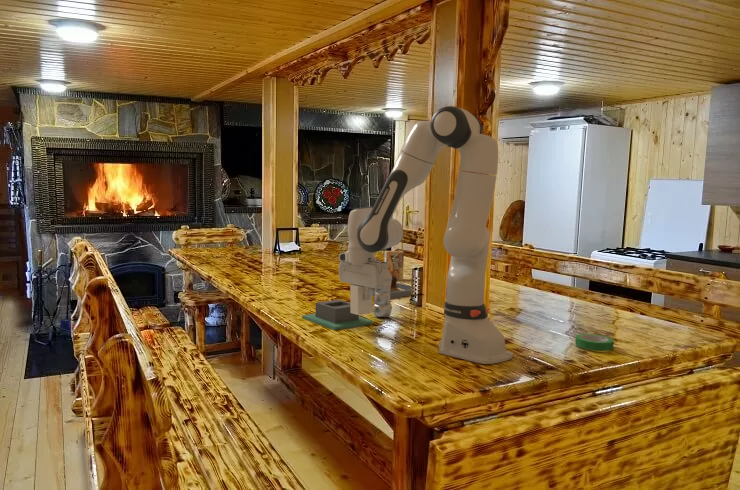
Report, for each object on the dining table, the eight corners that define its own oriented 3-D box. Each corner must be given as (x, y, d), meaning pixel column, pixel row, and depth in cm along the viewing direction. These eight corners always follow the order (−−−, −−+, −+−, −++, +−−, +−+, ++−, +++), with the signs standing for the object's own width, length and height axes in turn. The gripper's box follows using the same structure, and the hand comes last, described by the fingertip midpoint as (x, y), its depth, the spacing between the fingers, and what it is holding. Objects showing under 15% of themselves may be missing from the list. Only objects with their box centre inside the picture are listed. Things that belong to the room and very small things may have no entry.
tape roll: (575, 339, 188) (576, 331, 188) (612, 344, 184) (613, 335, 184) (574, 348, 178) (575, 340, 177) (613, 353, 174) (614, 344, 173)
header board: (372, 323, 201) (372, 306, 200) (334, 330, 191) (335, 312, 190) (338, 312, 216) (338, 296, 215) (302, 318, 206) (302, 301, 205)
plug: (372, 312, 191) (372, 285, 190) (357, 314, 188) (357, 287, 187) (364, 310, 194) (364, 283, 194) (350, 312, 191) (350, 285, 190)
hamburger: (393, 297, 248) (394, 274, 247) (365, 294, 252) (366, 272, 251) (403, 291, 263) (404, 269, 262) (377, 288, 267) (378, 267, 266)
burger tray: (422, 295, 254) (423, 288, 254) (384, 300, 240) (384, 293, 240) (392, 287, 270) (392, 281, 269) (354, 292, 256) (354, 285, 256)
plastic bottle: (389, 319, 207) (391, 264, 205) (371, 318, 208) (372, 263, 206) (392, 315, 213) (394, 261, 211) (374, 314, 215) (376, 260, 213)
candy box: (400, 281, 289) (401, 250, 287) (403, 282, 285) (404, 251, 283) (383, 281, 287) (384, 250, 285) (385, 283, 283) (386, 251, 281)
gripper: (389, 259, 183) (389, 302, 184) (350, 253, 199) (350, 293, 200) (374, 260, 179) (373, 304, 180) (335, 254, 195) (335, 295, 196)
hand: (361, 298), depth 191 cm, fingers closed on plug, 4 cm apart
